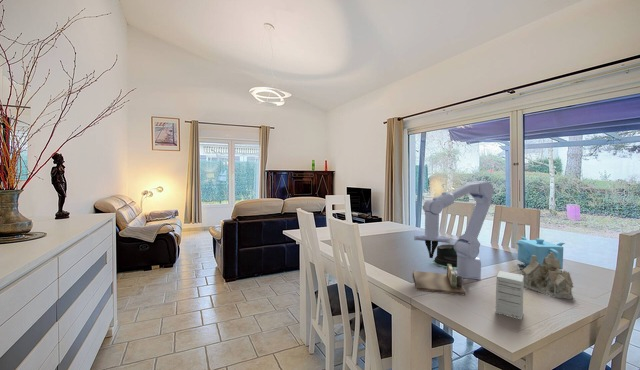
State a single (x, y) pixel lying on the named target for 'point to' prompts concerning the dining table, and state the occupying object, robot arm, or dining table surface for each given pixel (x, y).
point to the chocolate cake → (446, 256)
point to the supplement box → (509, 294)
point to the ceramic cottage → (548, 277)
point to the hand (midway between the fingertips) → (431, 257)
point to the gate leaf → (451, 275)
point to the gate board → (437, 283)
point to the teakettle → (538, 250)
